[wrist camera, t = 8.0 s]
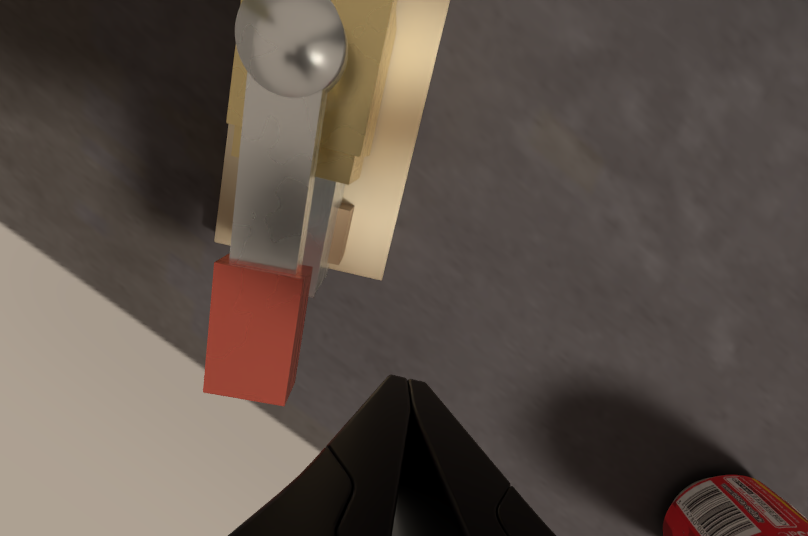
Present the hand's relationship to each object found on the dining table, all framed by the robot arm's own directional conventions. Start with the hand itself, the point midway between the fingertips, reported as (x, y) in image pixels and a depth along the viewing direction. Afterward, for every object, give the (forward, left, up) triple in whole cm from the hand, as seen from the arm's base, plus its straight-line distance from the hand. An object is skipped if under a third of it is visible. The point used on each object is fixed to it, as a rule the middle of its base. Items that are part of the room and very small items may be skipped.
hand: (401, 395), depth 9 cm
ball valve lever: (-2, -5, -5) cm, 7 cm away
